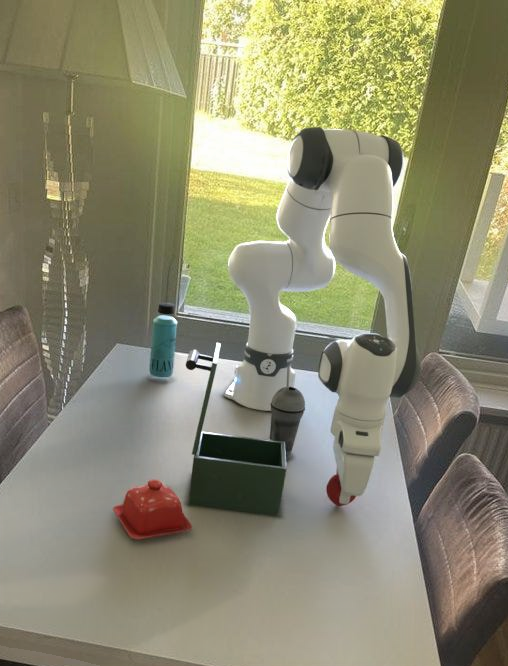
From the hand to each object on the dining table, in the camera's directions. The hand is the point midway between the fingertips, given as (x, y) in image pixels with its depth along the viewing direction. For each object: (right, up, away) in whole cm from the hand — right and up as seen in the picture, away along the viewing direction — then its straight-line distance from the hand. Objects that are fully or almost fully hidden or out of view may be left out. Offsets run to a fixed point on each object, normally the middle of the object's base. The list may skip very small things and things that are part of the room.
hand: (341, 492), depth 132 cm
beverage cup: (-9, +8, +19) cm, 22 cm away
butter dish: (-36, -5, -10) cm, 37 cm away
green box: (-20, -1, +1) cm, 20 cm away
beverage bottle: (-36, +29, +54) cm, 71 cm away
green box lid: (-25, +17, -7) cm, 31 cm away
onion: (0, -3, +2) cm, 3 cm away
